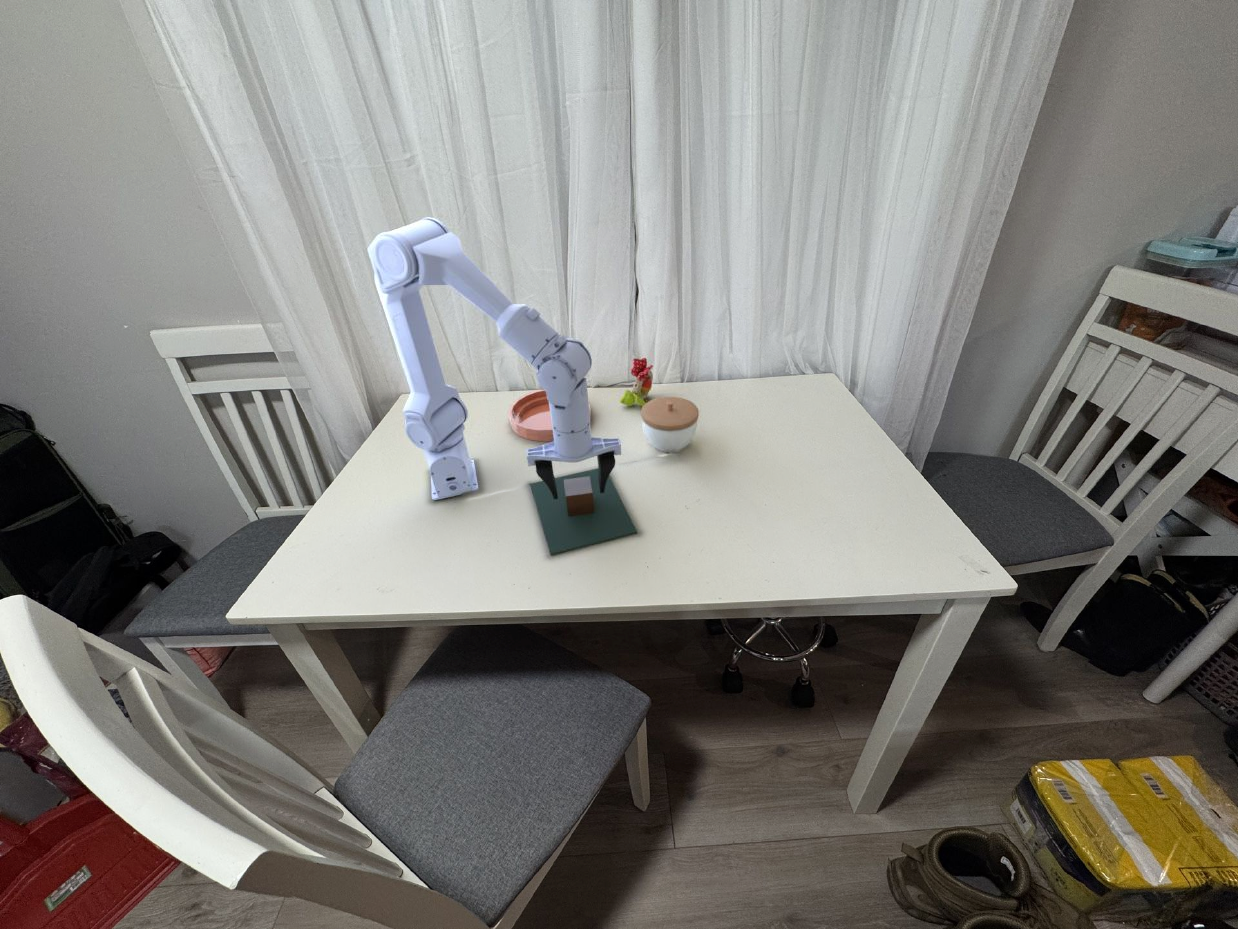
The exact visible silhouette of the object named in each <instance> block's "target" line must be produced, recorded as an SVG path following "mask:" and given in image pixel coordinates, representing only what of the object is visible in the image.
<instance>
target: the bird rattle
mask: <svg viewBox="0 0 1238 929" xmlns="http://www.w3.org/2000/svg"><path fill="white" fill-rule="evenodd" d="M632 363H633V364H632V366H633V367H632V368H631V369H630V373H631V376H633V377H635V380H634V383H633V386H632V390H629V389H626V390H625V391H624V394H623V396H622V397H621V398H620V400H619V402H620V404H623V405H624V406H627V407H633V406H634V405H635V404H637V405H639V406H640V407H641V408H642V407H643V406H644V405H645V404H646V403H647V402H646V401H645V400H646V399H647V398H648V395H649V392H650V391H651V389H652V385H653V379H654V374H653V372H652V370H651V369H652V368H653V367H654V365H653V364H650V365H649V366H648V359H647V358H646V357H643V358H641V359H639V358H633V359H632Z"/></svg>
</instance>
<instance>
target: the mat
mask: <svg viewBox="0 0 1238 929" xmlns="http://www.w3.org/2000/svg"><path fill="white" fill-rule="evenodd" d="M588 476H590V480H591V486H592V491H593V501H594V512H595V513H590V514H583V515H576V516H568V511H567V504H566V496H565V488H564V480H565V479H572V478H580V477H588ZM554 478H555V482H556V486H557V495H558V499H553V495H552V493H551V491H550V489H549V488H548V486H547V485H546V483H545V482H544V481H543V480H541V481H536V482H532V483H530V488H531V492H532V496H533V498H534V499H533V500H534V502H535V506H536V509H537V513H538V516H539V519H540V523H541V526H542V530H543V533H544V537H545V540H546V544H547V547H548V552H549V554H550V556H554V555H558V554H561V553H565V552H569V551H574V550H577V549H581V548H585V547H589V546H593V545H597V544H600V543H604V542H609V541H613V540H616V539H620V538H624V537H628V536H631V535H635V534H638V530H637V529H636V527H635V525H634V523H633V521H632V519H631V517H630V514H629V512H628V510H627V508H626V507H625V505H624V503H623V500H622V499H621V497H620V495H619V493H618V490H617V488H616V487H615V485H614V482H613V480H612V478H611V476H610V475H609V477H608V479H607V482H606V486H605V492H604V493H600V489H599V482H598V468H594V469H591V470H586V471H580V472H577V473H572V474H568V475H562V476H559V477H554Z"/></svg>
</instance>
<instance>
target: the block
mask: <svg viewBox="0 0 1238 929" xmlns="http://www.w3.org/2000/svg"><path fill="white" fill-rule="evenodd" d="M564 488H565V496H566V504H567V511H568V516H576V515H583V514H590V513H595V512H594V501H593V491H592V486H591V480H590V476H588V477H580V478H572V479H565V480H564Z"/></svg>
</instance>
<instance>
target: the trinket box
mask: <svg viewBox="0 0 1238 929" xmlns="http://www.w3.org/2000/svg"><path fill="white" fill-rule="evenodd" d="M640 410H641V412H640V416H641V426H642V432H643V434H644V438H645V439H646V441H647V442H648V443H649V444H650V445H651V446H652V447H653V448H655V449H657V450H658V451H661V452H663V453H667V454H676V453H680V452H681V451H683V449H685V448H686V447H687V446H688V445H690V443H691V442H692V440H693V439H694V437H695V435H696V432H697V428H698V421H699V409H698V407H697V405H696V404H695V403H694V402H692V401H690V400H688V399H685V398H682V397H678V396H660V397H656V398H654V399H653V398H652V399H651V400H649V401H648V402H646V404H645V405H644V406H643V407H642V406H641V409H640Z"/></svg>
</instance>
